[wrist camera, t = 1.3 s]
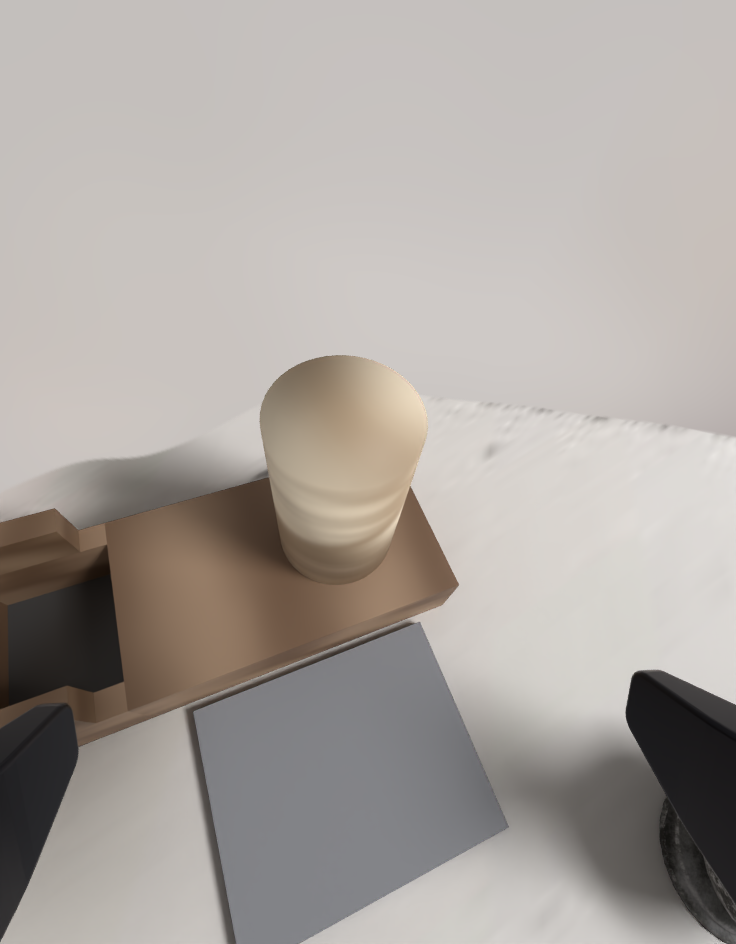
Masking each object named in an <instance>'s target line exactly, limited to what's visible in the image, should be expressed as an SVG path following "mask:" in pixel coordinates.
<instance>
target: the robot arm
mask: <svg viewBox="0 0 736 944" xmlns="http://www.w3.org/2000/svg"><path fill="white" fill-rule="evenodd" d="M626 720H627V723H628V726H629V728H630V730H631V732H632V734H633V736H634V738H635V739H636V741H637V743H638V745H639V747H640V748H641V750H642V752H643V754H644V756H645V757H646V759H647V761H648V763H649V765H650V767H651V768H652V770H653V772H654V774H655V776H656V777H657V779H658V781H659V783H660V785H661V786H662V788H663V790H664V792H665V794H666V796H667V797H668V799H669V801H670V803H671V805H672V806H673V808H674V810H675V812H676V813H677V815H678V817H679V819H680V820H681V822H682V824H683V825H684V827H685V829H686V830H687V832H688V833H689V835H690V836H691V838H692V840H693V841H694V843H695V844H696V846H697V847H698V849H699V850H700V852H701V853H702V855H703V856H704V858H705V860H706V861H707V863H708V864H709V866H710V867H711V869H712V870H713V872H714V873H715V875H716V876H717V878H718V879H719V881H720V882H721V884H722V885H723V887H724V888H725V890H726V891H727V893H728V894H729V896H730V898H731V899H732V901H733V902H734V904H735V905H736V705H735V704H733V703H731V702H728V701H726V700H724V699H722V698H720V697H718V696H715V695H713V694H711V693H709V692H707V691H705V690H703V689H700V688H698V687H696V686H694V685H692V684H690V683H688V682H685V681H683V680H681V679H679V678H677V677H675V676H672V675H670V674H668V673H666V672H664V671H661V670H641V671H637V672H635V673H634V674H633V676H632V678H631V683H630V689H629V695H628V700H627V706H626ZM77 759H78V741H77V735H76V728H75V722H74V715H73V710H72V708H71V706H70V705H69V704H67V703H48V704H40V705H37V706H35V707H33V708H32V709H30V710H28V711H27V712H25V713H24V714H22V715H20V716H19V717H17V718H16V719H14V720H12V721H11V722H9V723H8V724H6V725H5V726H3V727H1V728H0V941H1V939H2V937H3V935H4V933H5V931H6V929H7V927H8V925H9V923H10V921H11V919H12V917H13V915H14V913H15V911H16V909H17V907H18V905H19V903H20V901H21V899H22V897H23V895H24V892H25V890H26V888H27V886H28V884H29V881H30V879H31V877H32V874H33V872H34V869H35V867H36V865H37V862H38V860H39V857H40V855H41V852H42V850H43V847H44V844H45V842H46V839H47V837H48V834H49V832H50V829H51V827H52V824H53V822H54V819H55V817H56V814H57V812H58V809H59V807H60V804H61V802H62V799H63V797H64V794H65V791H66V789H67V786H68V784H69V781H70V779H71V776H72V774H73V771H74V769H75V766H76V763H77Z"/></svg>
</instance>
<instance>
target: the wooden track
mask: <svg viewBox="0 0 736 944" xmlns="http://www.w3.org/2000/svg"><path fill="white" fill-rule="evenodd" d="M458 586H459V584H458V582H457V580H456V578H455V576H454V574H453V572H452V570H451V568H450V566H449V564H448V562H447V559H446V557H445V555H444V553H443V551H442V549H441V547H440V545H439V543H438V541H437V539H436V537H435V535H434V533H433V531H432V529H431V527H430V525H429V523H428V521H427V519H426V517H425V515H424V513H423V511H422V509H421V507H420V505H419V503H418V501H417V499H416V497H415V495H414V493H413V490H412V488H411V486H410V488H409V491H408V494H407V496H406V499H405V502H404V505H403V508H402V511H401V514H400V517H399V520H398V523H397V526H396V529H395V532H394V535H393V538H392V541H391V544H390V547H389V550H388V552H387V554H386V556H385V558H384V560H383V561H382V563H381V564H380V565H379V566H378V567H377V569H376V570H374V571H373V572H372V573H371V574H369V575H368V576H366V577H365V578H363V579H360V580H358V581H356V582H352V583H348V584H343V585H330V584H323V583H319V582H316V581H313V580H311V579H309V578H307V577H305V576H304V575H302V574H301V573H300V572H298V571H297V570H296V569H295V568H294V567H293V566H292V564H291V563H290V562H289V560H288V559H287V557H286V555H285V553H284V551H283V548H282V545H281V540H280V534H279V529H278V523H277V518H276V512H275V507H274V501H273V496H272V490H271V485H270V479H269V477H268V478H265V479H261V480H258V481H254V482H250V483H247V484H243V485H240V486H236V487H232V488H229V489H225V490H222V491H218V492H214V493H211V494H207V495H204V496H200V497H196V498H193V499H189V500H186V501H182V502H178V503H175V504H171V505H168V506H164V507H160V508H157V509H153V510H150V511H146V512H142V513H139V514H135V515H132V516H128V517H124V518H121V519H117V520H114V521H110V522H106V523H103V524H99V525H96V526H92V527H88V528H85V529H81V530H77V529H76V528H75V527H74V526H73V525H72V524H71V523H70V522H69V521H68V520H67V519H66V518H65V517H63V516H62V515H61V514H60V513H59V512H58V511H57V510H56V509H55V508H54V509H51V510H47V511H43V512H39V513H35V514H32V515H28V516H24V517H20V518H16V519H13V520H9V521H5V522H1V523H0V728H1V727H3V726H5V725H6V724H8V723H9V722H11V721H12V720H14V719H16V718H17V717H19V716H20V715H22V714H24V713H25V712H27V711H28V710H30V709H32V708H33V707H35V706H37V705H40V704H48V703H67V704H69V705H70V706H71V708H72V710H73V715H74V722H75V728H76V735H77V741H78V747H79V746H82V745H84V744H87V743H89V742H92V741H95V740H97V739H100V738H102V737H105V736H107V735H110V734H112V733H115V732H118V731H120V730H123V729H125V728H128V727H130V726H133V725H136V724H138V723H141V722H143V721H146V720H148V719H151V718H153V717H156V716H159V715H161V714H164V713H166V712H169V711H171V710H174V709H177V708H179V707H182V706H184V705H187V704H189V703H192V702H194V701H197V700H200V699H202V698H205V697H207V696H210V695H212V694H215V693H218V692H220V691H223V690H225V689H228V688H230V687H233V686H235V685H238V684H241V683H243V682H246V681H248V680H251V679H253V678H256V677H259V676H261V675H264V674H266V673H269V672H271V671H274V670H277V669H279V668H282V667H284V666H287V665H289V664H292V663H294V662H297V661H300V660H302V659H305V658H307V657H310V656H312V655H315V654H318V653H320V652H323V651H325V650H328V649H330V648H333V647H335V646H338V645H341V644H343V643H346V642H348V641H351V640H353V639H356V638H359V637H361V636H364V635H366V634H369V633H371V632H374V631H376V630H379V629H382V628H384V627H387V626H389V625H392V624H394V623H397V622H400V621H402V620H405V619H407V618H410V617H412V616H415V615H417V614H420V613H423V612H425V611H428V610H430V609H433V608H435V607H438V606H441V605H443V604H444V603H445V601H446V600H447V599H448V598H449V596H450V595H451V594H452V593H453V592H454V590H455V589H456V588H457V587H458Z"/></svg>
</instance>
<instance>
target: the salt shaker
mask: <svg viewBox="0 0 736 944" xmlns="http://www.w3.org/2000/svg"><path fill="white" fill-rule="evenodd" d="M660 842H661V847H662V852H663V857H664V862H665V865H666V867H667V870H668V872H669V875H670V877H671V880H672V882H673V885H674V887H675V889H676V890H677V892H678V894H679V895H680V897H681V898H682V900H683V902H684V903H685V905H686V907H687V908H688V909H689V911H690V912H691V913H692V914H693V915H694V916H695V917H696V918H697V920H698V921H699V922H700V923H701V924H702V925H703V926H704V927H705V928H706V929H707V930H708V931H710V932H711V933H712V934H714V935H715V936H716V937H718V938H719V939H720V940H722V941H723V942H725V943H727V944H736V905H735V904H734V902H733V901H732V899H731V898H730V896H729V894H728V893H727V891H726V890H725V888H724V887H723V885H722V884H721V882H720V881H719V879H718V878H717V876H716V875H715V873H714V872H713V870H712V869H711V867H710V866H709V864H708V863H707V861H706V860H705V858H704V856H703V855H702V853H701V852H700V850H699V849H698V847H697V846H696V844H695V843H694V841H693V840H692V838H691V836H690V835H689V833H688V832H687V830H686V829H685V827H684V825H683V824H682V822H681V820H680V819H679V817H678V815H677V813H676V812H675V810H674V808H673V806H672V805H671V803H670V801H669V799H668V797H667V798H666V799H665V801H664V805H663V809H662V813H661V817H660Z"/></svg>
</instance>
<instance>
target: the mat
mask: <svg viewBox="0 0 736 944" xmlns="http://www.w3.org/2000/svg"><path fill="white" fill-rule="evenodd" d="M193 713H194V719H195V724H196V730H197V735H198V740H199V746H200V751H201V757H202V762H203V767H204V773H205V778H206V784H207V789H208V794H209V800H210V805H211V811H212V816H213V821H214V827H215V832H216V838H217V843H218V848H219V854H220V859H221V865H222V870H223V875H224V881H225V886H226V892H227V897H228V902H229V908H230V913H231V919H232V924H233V929H234V935H235V940H236V944H299V943H301V942H303V941H305V940H306V939H308V938H310V937H312V936H314V935H315V934H317V933H319V932H321V931H323V930H324V929H326V928H328V927H330V926H332V925H333V924H335V923H337V922H339V921H341V920H342V919H344V918H346V917H348V916H350V915H351V914H353V913H355V912H357V911H359V910H360V909H362V908H364V907H366V906H368V905H369V904H371V903H373V902H375V901H377V900H378V899H380V898H382V897H384V896H386V895H387V894H389V893H391V892H393V891H395V890H396V889H398V888H400V887H402V886H404V885H405V884H407V883H409V882H411V881H413V880H414V879H416V878H418V877H420V876H422V875H423V874H425V873H427V872H429V871H431V870H432V869H434V868H436V867H438V866H440V865H441V864H443V863H445V862H447V861H449V860H450V859H452V858H454V857H456V856H458V855H459V854H461V853H463V852H465V851H467V850H468V849H470V848H472V847H474V846H476V845H477V844H479V843H481V842H483V841H485V840H486V839H488V838H490V837H492V836H494V835H495V834H497V833H499V832H501V831H503V830H504V829H506V828H508V827H509V826H508V824H507V822H506V819H505V817H504V815H503V812H502V810H501V808H500V805H499V803H498V801H497V798H496V796H495V794H494V792H493V789H492V787H491V785H490V782H489V780H488V778H487V775H486V773H485V771H484V769H483V766H482V764H481V762H480V759H479V757H478V755H477V752H476V750H475V748H474V745H473V743H472V741H471V739H470V736H469V734H468V732H467V729H466V727H465V725H464V722H463V720H462V718H461V716H460V713H459V711H458V709H457V706H456V704H455V702H454V699H453V697H452V695H451V692H450V690H449V688H448V686H447V683H446V681H445V679H444V676H443V674H442V672H441V669H440V667H439V665H438V663H437V660H436V658H435V656H434V653H433V651H432V649H431V646H430V644H429V642H428V639H427V637H426V635H425V633H424V630H423V628H422V626H421V623H420V622H418V623H415V624H413V625H410V626H408V627H405V628H403V629H400V630H398V631H395V632H393V633H390V634H388V635H385V636H383V637H380V638H378V639H375V640H372V641H370V642H367V643H365V644H362V645H360V646H357V647H355V648H352V649H350V650H347V651H345V652H342V653H340V654H337V655H335V656H332V657H329V658H327V659H324V660H322V661H319V662H317V663H314V664H312V665H309V666H307V667H304V668H302V669H299V670H297V671H294V672H292V673H289V674H286V675H284V676H281V677H279V678H276V679H274V680H271V681H269V682H266V683H264V684H261V685H259V686H256V687H254V688H251V689H249V690H246V691H243V692H241V693H238V694H236V695H233V696H231V697H228V698H226V699H223V700H221V701H218V702H216V703H213V704H211V705H208V706H206V707H203V708H200V709H198V710H195V711H193Z"/></svg>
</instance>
